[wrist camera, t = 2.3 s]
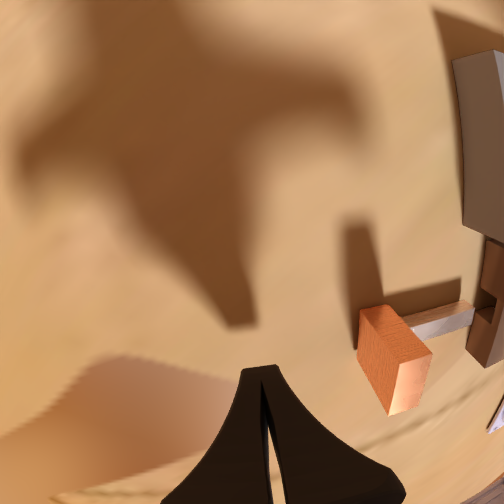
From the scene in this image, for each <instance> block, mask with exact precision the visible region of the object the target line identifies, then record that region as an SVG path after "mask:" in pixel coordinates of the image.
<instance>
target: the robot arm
mask: <svg viewBox="0 0 504 504" xmlns="http://www.w3.org/2000/svg"><path fill="white" fill-rule="evenodd" d="M503 425H504V400H503V402H502V404H501V406H500V408H499V410H498V411H497V413H496V415H495V417H494V419H493V421H492V422H491V424H490V426H489V428H488V430H487V433H488V434H490V433H492V432H493V431H495V430H497V429H498V428H500V427H501V426H503ZM268 427H269V431H270V435H271V438H272V442H273V446H274V450H275V453H276V457H277V461H278V464H279V468H280V473H281V477H282V483H283V489H284V496H285V502H286V504H402V502H403V501H404V499H405V497H406V492H405V489H404V486H403V485H402V483H401V482H400V480H399V479H398V477H397V476H396V475H395V473H394V472H393V471H392V470H391V469H390V468H388V467H386V466H384V465H382V464H379V463H377V462H375V461H374V460H372V459H370V458H368V457H366V456H364V455H363V454H361V453H359V452H358V451H356V450H354V449H353V448H352V447H350V446H349V445H347V444H346V443H344V442H343V441H341V440H340V439H339V438H337V437H336V436H335V435H334V434H332V433H331V432H330V431H329V430H328V429H326V428H325V427H324V426H323V425H322V424H321V423H320V422H319V421H318V420H317V419H316V418H315V417H314V416H313V415H312V414H311V413H310V412H309V411H308V410H307V409H306V407H305V406H304V405H303V404H302V403H301V401H300V400H299V399H298V398H297V396H296V395H295V394H294V392H293V391H292V390H291V388H290V387H289V385H288V384H287V382H286V380H285V379H284V377H283V375H282V373H281V371H280V369H279V367H278V366H277V365H276V364H274V365H267V366H260V367H253V368H245V369H243V370H242V371H241V375H240V380H239V384H238V388H237V391H236V394H235V397H234V400H233V403H232V405H231V408H230V410H229V413H228V415H227V417H226V419H225V421H224V424H223V425H222V427H221V429H220V431H219V433H218V435H217V437H216V438H215V440H214V441H213V443H212V445H211V446H210V448H209V449H208V451H207V452H206V453H205V455H204V456H203V458H202V459H201V460H200V462H199V463H198V464H197V465H196V467H195V468H194V469H193V470H192V471H191V472H190V473H189V475H188V476H187V477H186V478H185V479H184V480H183V481H182V482H181V483H180V484H179V485H178V486H177V487H176V488H175V489H174V490H173V491H172V492H171V493H169V494H168V495H167V496H166V497H165V498H164V499H163V500H162V501H161V503H160V504H274V503H273V496H272V489H271V482H270V472H269V445H268ZM460 504H504V476H503V477H502V478H501V479H499V480H498V481H496V482H495V483H494V484H492V485H490V486H489V487H487V488H486V489H484V490H482V491H481V492H479V493H477V494H476V495H474V496H472V497H471V498H469V499H467V500H466V501H464V502H462V503H460Z"/></svg>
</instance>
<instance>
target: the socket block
mask: <svg viewBox="0 0 504 504" xmlns="http://www.w3.org/2000/svg"><path fill="white" fill-rule="evenodd" d="M480 287H481V288H482V289H484V290H485V291H487V292H488V293H490V294H491V295H493V296H494V297H496V298H497V303H496V307H495V309H494V308H493V307H492V306H490V307H487V308H484V309H481V310H479V311H476V312H475V314H474V318H473V323H472V327H471V331H470V335H469V338H468V342H467V346H466V350H467V351H468V352H469V353H470V354H471V355H472V356H473V357H474V358H475V359H476V360H477V361H478V362H479V363H480V364H481V365H482V366H483V367H484V368H487V367H489V366H491V365H493V364H495V363H497V362H499V361H501V360H503V359H504V243H502V242H500V241H498V240H496V239H490V240H486V249H485V257H484V265H483V271H482V278H481V284H480Z"/></svg>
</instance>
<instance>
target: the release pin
mask: <svg viewBox="0 0 504 504" xmlns="http://www.w3.org/2000/svg"><path fill="white" fill-rule="evenodd" d="M474 310H475V308H474V307H473V306H472V305H471V304H469V303H468V302H467V301H465V300H461V301H458V302H454V303H451V304H448V305H444V306H441V307H437V308H434V309H430V310H426V311H423V312H419V313H415V314H411V315H407V316H404V317H399V316H398V315H397V314H396V312H395V311H394V310H393V309H392V308H391V307H390V306H389V305H388V304H385V305H381V306H376V307H371V308H366V309H362V310H360V317H359V335H358V350H357V360H358V362H359V364H360V366H361V367H362V369H363V371H364V373H365V375H366V376H367V378H368V380H369V382H370V384H371V385H372V387H373V389H374V391H375V393H376V394H377V396H378V398H379V400H380V402H381V404H382V405H383V407H384V409H385V411H386V413H387V415H388V416H390V415H393V414H396V413H399V412H402V411H405V410H408V409H411V408H414V407H416V406H418V404H419V401H420V398H421V395H422V391H423V388H424V385H425V381H426V377H427V374H428V370H429V366H430V362H431V358H432V352H431V351H430V350H429V349H428V348H427V347H426V346H425V345H424V343H423V342H422V341H424V340H427V339H430V338H434V337H437V336H440V335H443V334H446V333H449V332H452V331H455V330H457V329H460V328H463V327H466V326H469V325H471V323H472V319H473V315H474Z"/></svg>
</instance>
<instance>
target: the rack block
mask: <svg viewBox="0 0 504 504" xmlns="http://www.w3.org/2000/svg"><path fill="white" fill-rule="evenodd" d="M452 65H453V70H454V75H455V81H456V87H457V94H458V101H459V109H460V117H461V127H462V140H463V157H464V215H463V226H466V227H468V228H470V229H473V230H475V231H477V232H480V233H482V234H484V235H487V236H489V237H491V238H493V239H496V240H498V241H500V242H502V243H504V53H501V52H499V51H496V50H494V49H493V50H489V51H485V52H481V53H477V54H473V55H470V56H466V57H462V58H459V59H455V60H452Z"/></svg>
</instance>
